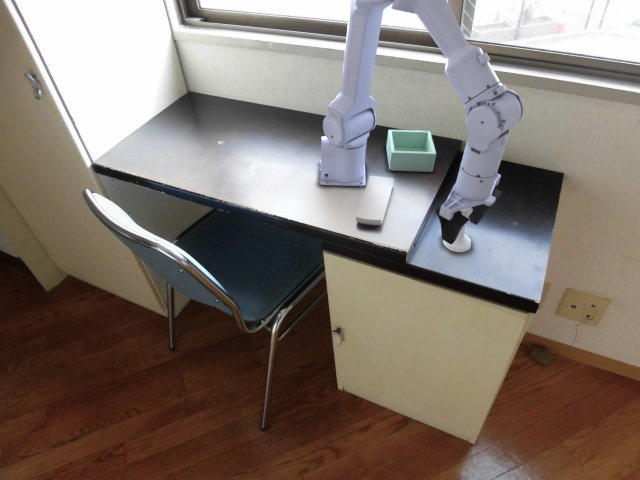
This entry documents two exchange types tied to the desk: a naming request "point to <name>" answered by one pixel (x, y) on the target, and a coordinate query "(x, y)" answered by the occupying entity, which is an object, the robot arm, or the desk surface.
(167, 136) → the desk surface
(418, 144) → the open storage box
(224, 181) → the desk surface
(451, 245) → the chess piece
